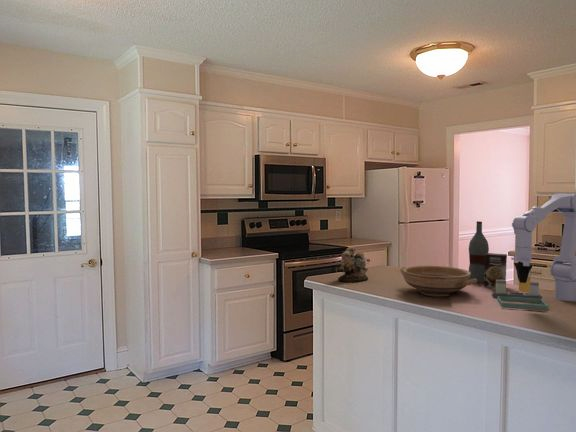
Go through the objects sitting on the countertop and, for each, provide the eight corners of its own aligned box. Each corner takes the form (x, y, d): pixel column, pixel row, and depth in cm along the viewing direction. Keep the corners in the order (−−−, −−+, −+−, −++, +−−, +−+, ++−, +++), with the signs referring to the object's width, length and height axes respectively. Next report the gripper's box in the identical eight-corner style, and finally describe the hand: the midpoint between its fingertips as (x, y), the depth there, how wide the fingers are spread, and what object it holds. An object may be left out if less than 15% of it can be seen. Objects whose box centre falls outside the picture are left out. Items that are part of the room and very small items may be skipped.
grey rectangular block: (536, 298, 189) (537, 281, 188) (538, 299, 187) (538, 282, 186) (527, 298, 190) (527, 281, 190) (528, 299, 188) (528, 282, 187)
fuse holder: (539, 300, 191) (539, 293, 190) (543, 303, 184) (543, 296, 184) (491, 297, 196) (491, 290, 196) (493, 300, 190) (493, 293, 189)
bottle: (481, 284, 221) (482, 222, 220) (464, 281, 229) (465, 221, 227) (491, 282, 227) (493, 221, 225) (474, 279, 234) (476, 220, 233)
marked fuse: (528, 291, 179) (529, 273, 179) (530, 292, 177) (530, 274, 176) (518, 290, 180) (519, 272, 180) (519, 291, 178) (520, 273, 178)
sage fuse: (504, 296, 192) (505, 280, 192) (505, 297, 190) (506, 281, 190) (495, 296, 193) (495, 279, 193) (496, 297, 191) (496, 280, 191)
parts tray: (541, 305, 182) (541, 298, 182) (548, 312, 171) (548, 305, 171) (497, 302, 187) (497, 296, 187) (501, 309, 176) (501, 302, 176)
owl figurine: (347, 284, 223) (347, 249, 222) (331, 280, 233) (331, 247, 232) (373, 279, 234) (373, 246, 233) (357, 276, 243) (357, 244, 242)
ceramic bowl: (493, 296, 197) (493, 273, 197) (455, 306, 180) (455, 281, 179) (420, 282, 227) (421, 262, 226) (382, 290, 209) (382, 268, 209)
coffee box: (483, 289, 212) (484, 254, 211) (484, 286, 218) (485, 252, 217) (505, 291, 208) (506, 255, 207) (506, 288, 213) (507, 253, 212)
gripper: (508, 244, 186) (507, 277, 187) (515, 248, 172) (514, 284, 173) (528, 245, 184) (527, 278, 185) (536, 249, 170) (535, 285, 171)
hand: (522, 281), depth 179 cm, fingers closed on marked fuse, 2 cm apart
